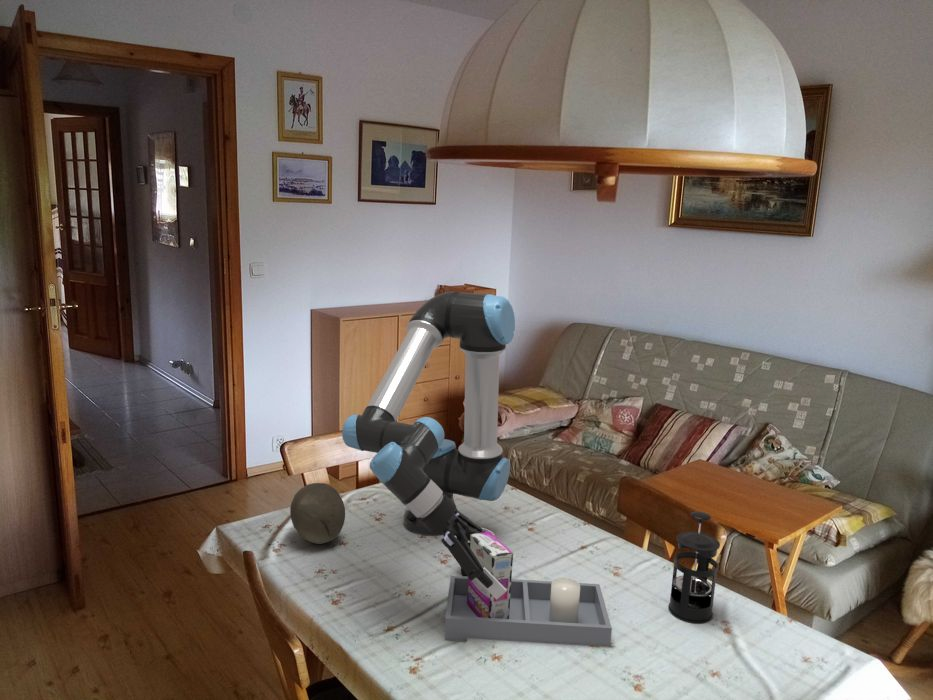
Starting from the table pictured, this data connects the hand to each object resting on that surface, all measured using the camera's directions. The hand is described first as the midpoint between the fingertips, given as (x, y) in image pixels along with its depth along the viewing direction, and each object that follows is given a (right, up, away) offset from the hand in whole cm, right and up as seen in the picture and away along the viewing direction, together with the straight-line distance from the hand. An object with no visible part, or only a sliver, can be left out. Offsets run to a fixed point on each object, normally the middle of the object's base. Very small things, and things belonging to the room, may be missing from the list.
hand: (501, 578), depth 148 cm
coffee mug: (-5, -5, +22) cm, 23 cm away
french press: (+42, -10, +8) cm, 44 cm away
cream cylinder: (+13, -9, +1) cm, 16 cm away
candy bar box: (-3, -9, +2) cm, 9 cm away
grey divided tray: (+5, -10, +2) cm, 11 cm away
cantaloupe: (-46, -1, +34) cm, 57 cm away
